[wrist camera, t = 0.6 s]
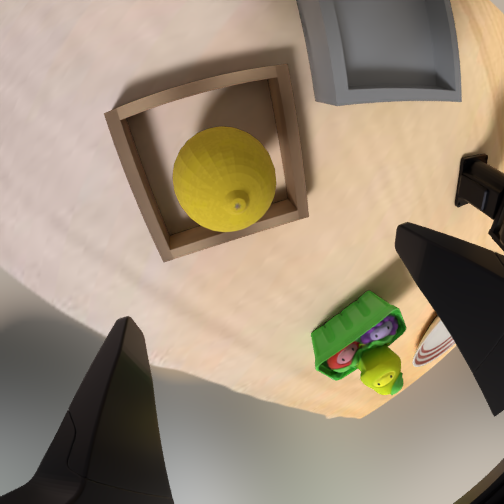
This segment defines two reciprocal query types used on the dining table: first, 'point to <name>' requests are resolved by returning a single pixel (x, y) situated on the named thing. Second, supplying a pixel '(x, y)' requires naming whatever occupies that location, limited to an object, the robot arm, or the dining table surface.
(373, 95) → the tray
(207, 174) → the lemon
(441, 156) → the dining table surface
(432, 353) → the dinner plate
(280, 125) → the lemon holder
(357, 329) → the fruit basket
